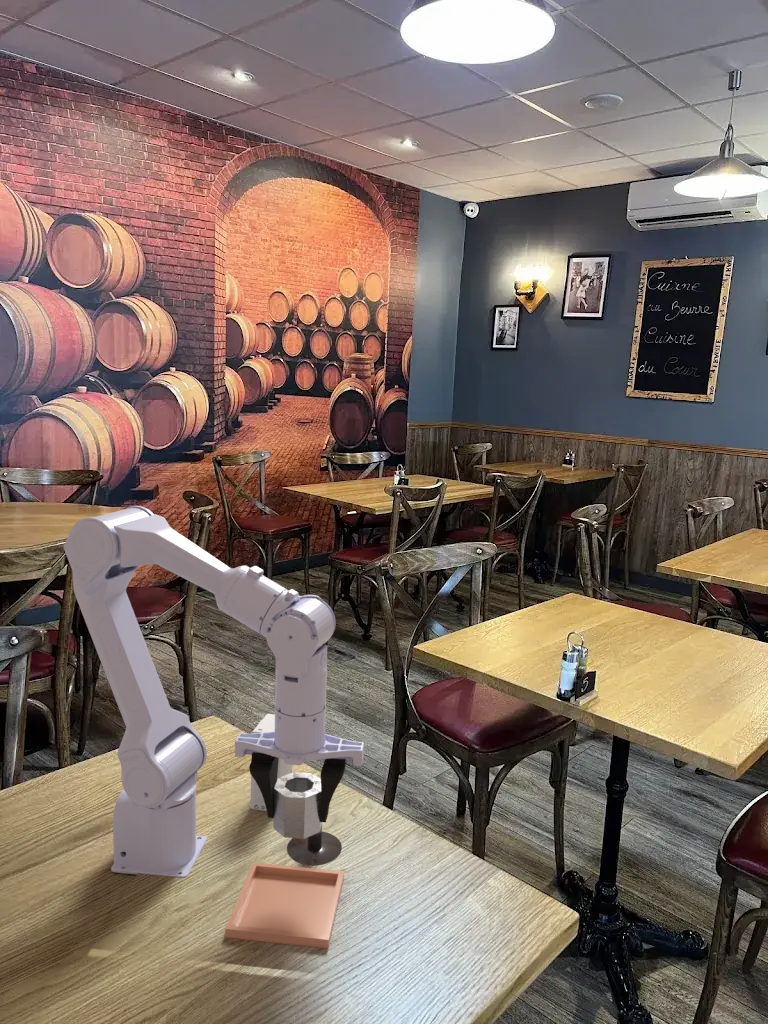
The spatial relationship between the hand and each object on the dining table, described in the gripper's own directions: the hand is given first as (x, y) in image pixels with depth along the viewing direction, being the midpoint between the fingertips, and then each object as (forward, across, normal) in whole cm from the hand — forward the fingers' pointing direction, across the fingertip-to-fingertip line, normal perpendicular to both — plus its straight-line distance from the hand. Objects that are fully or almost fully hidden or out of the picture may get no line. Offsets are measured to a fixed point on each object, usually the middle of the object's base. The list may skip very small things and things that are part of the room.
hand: (298, 815), depth 87 cm
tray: (+10, 0, -3) cm, 10 cm away
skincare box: (+10, -7, +18) cm, 22 cm away
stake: (+10, +1, +8) cm, 13 cm away
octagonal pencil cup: (+1, 0, 0) cm, 1 cm away
